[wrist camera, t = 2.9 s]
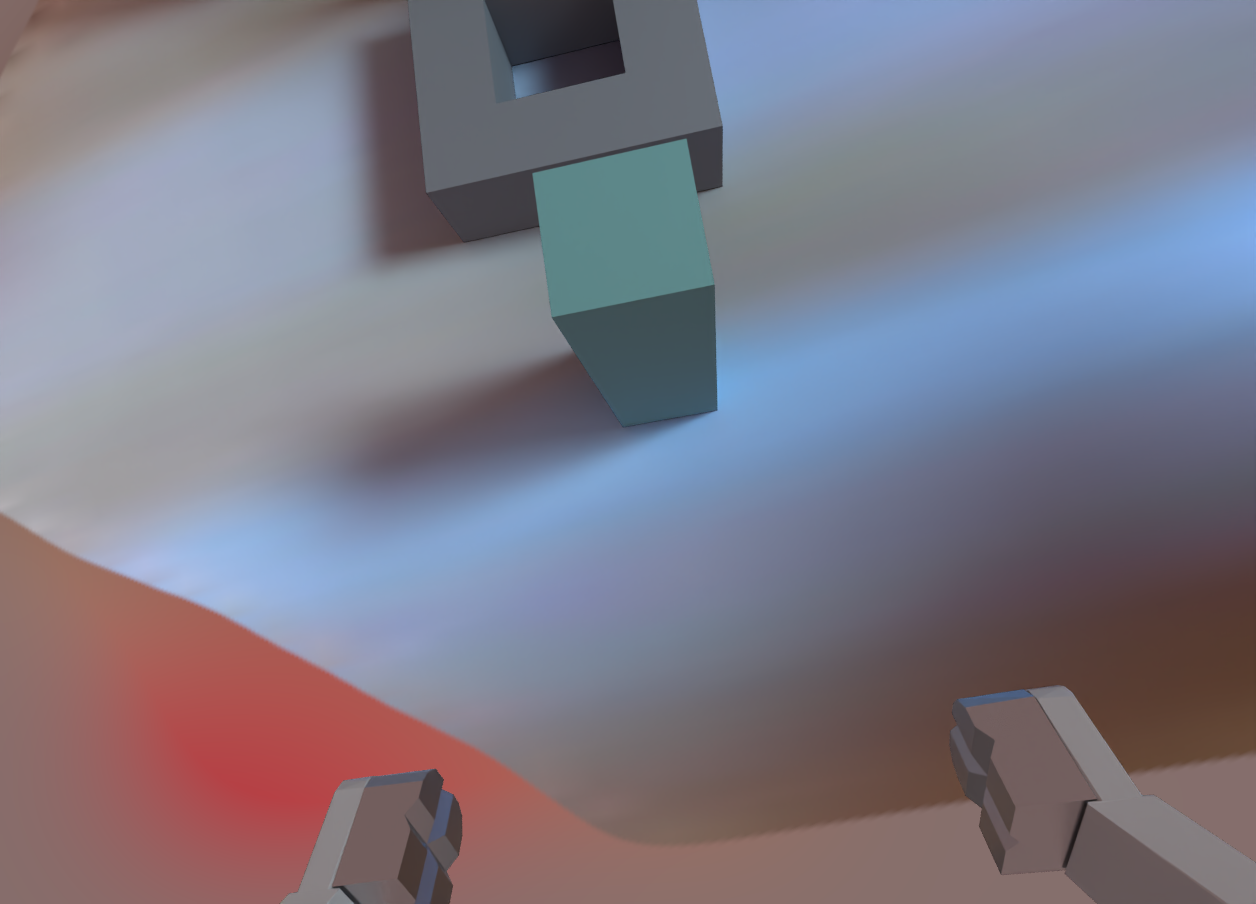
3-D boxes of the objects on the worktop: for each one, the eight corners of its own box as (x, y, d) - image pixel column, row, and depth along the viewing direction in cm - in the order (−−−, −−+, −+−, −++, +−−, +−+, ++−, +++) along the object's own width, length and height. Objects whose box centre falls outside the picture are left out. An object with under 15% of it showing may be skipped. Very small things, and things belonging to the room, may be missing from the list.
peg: (700, 320, 28) (686, 138, 17) (717, 410, 27) (714, 284, 16) (609, 338, 29) (532, 173, 17) (623, 427, 28) (551, 317, 16)
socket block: (677, -35, 32) (671, -121, 28) (722, 186, 29) (722, 125, 25) (440, 25, 33) (403, -49, 29) (463, 241, 30) (426, 192, 27)
